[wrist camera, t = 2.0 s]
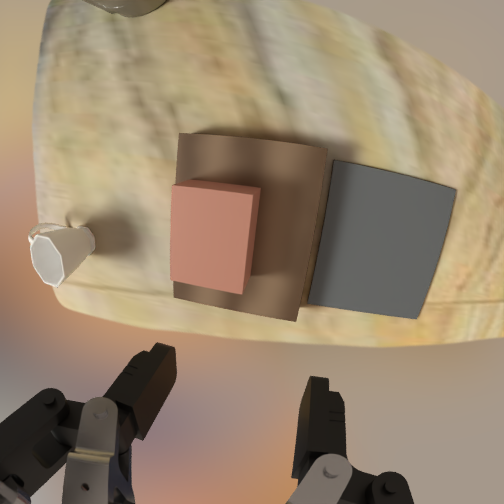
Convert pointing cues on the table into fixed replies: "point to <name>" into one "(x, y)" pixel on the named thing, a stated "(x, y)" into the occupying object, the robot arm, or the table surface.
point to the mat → (379, 241)
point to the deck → (261, 215)
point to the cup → (59, 251)
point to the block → (213, 234)
